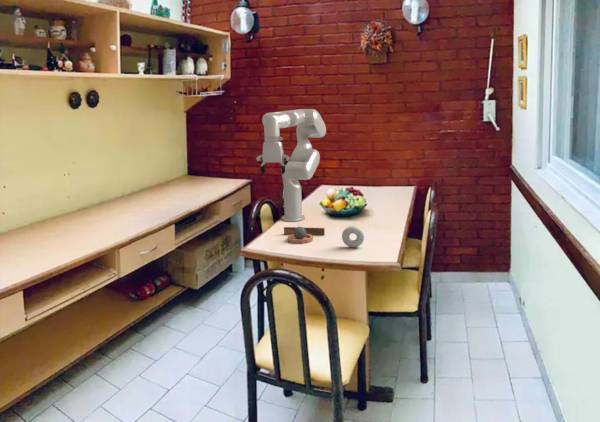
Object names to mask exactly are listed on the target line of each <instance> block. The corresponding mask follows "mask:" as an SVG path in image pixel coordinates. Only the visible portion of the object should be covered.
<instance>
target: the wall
mask: <svg viewBox="0 0 600 422" xmlns="http://www.w3.org/2000/svg"><path fill="white" fill-rule="evenodd" d="M297 227H298V226H297ZM297 227H295V226H294V227H292V226H284V227H283V235H286V236H289V235H292V234H293V232H294V230H295V228H297ZM303 228H304V229H305V230H306V234H310V235H312V236H322V237H323V236H324V237H325V233H326V232H325V227H303Z"/></svg>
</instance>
